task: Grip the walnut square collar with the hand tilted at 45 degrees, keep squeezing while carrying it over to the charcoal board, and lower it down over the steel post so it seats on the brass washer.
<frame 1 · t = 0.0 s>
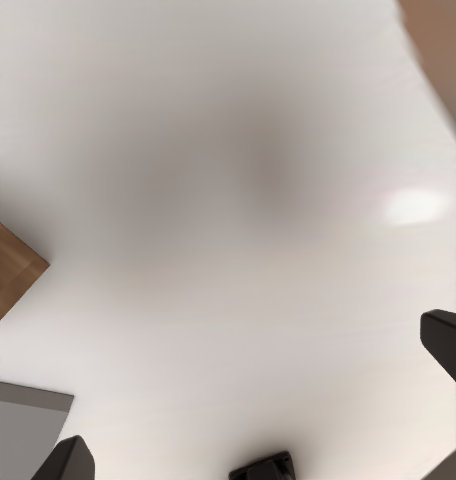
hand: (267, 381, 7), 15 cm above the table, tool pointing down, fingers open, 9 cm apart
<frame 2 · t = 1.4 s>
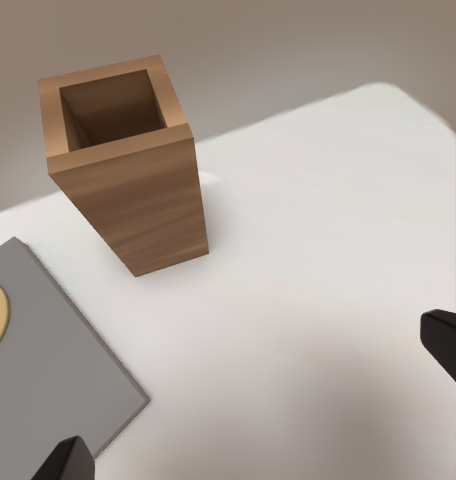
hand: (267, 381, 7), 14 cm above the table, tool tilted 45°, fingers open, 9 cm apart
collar: (163, 233, 25), on the table
post stand: (4, 378, 20), on the table
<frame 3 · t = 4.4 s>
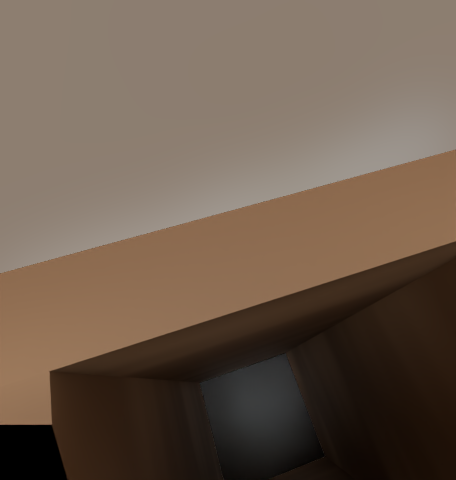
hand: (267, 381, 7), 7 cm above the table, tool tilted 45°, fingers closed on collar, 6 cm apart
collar: (259, 417, 13), on the table, touching gripper
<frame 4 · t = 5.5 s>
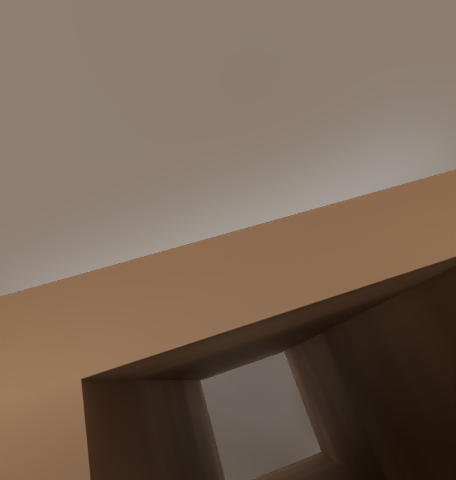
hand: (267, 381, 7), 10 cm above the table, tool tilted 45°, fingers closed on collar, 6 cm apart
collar: (258, 414, 13), point 3 cm above the table, touching gripper
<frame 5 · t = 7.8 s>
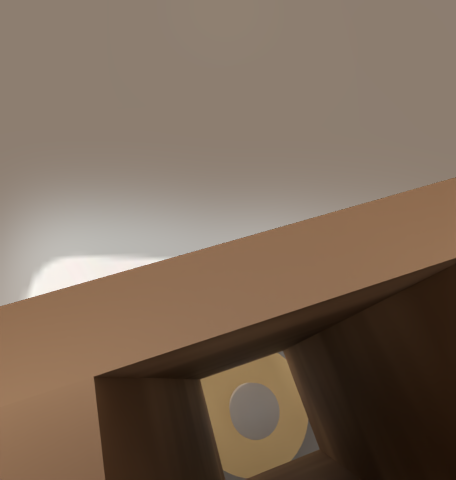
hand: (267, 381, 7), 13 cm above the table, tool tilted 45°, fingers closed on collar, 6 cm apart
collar: (257, 412, 13), point 6 cm above the table, touching gripper
when the fingers open (10 cm above the table, at t = 9.2 s): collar stays where it is, resting on post stand.
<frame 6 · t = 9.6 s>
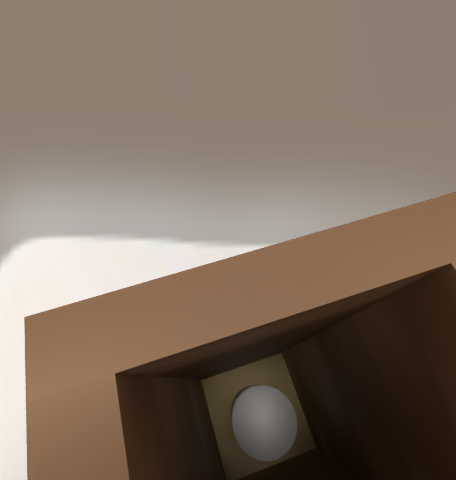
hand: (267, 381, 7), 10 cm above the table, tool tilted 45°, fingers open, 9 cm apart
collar: (256, 412, 14), point 2 cm above the table, touching post stand
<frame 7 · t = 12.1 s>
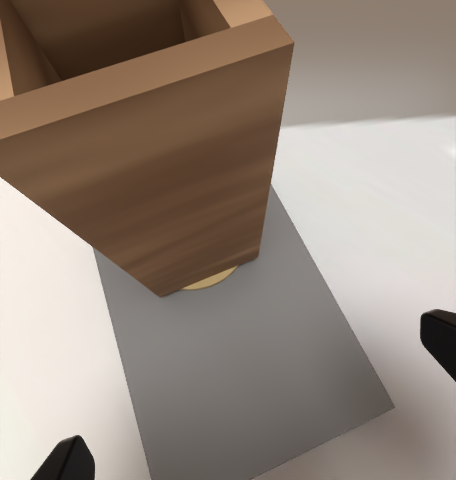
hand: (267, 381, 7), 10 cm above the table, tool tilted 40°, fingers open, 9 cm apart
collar: (192, 232, 18), point 2 cm above the table, touching post stand
post stand: (221, 307, 18), on the table
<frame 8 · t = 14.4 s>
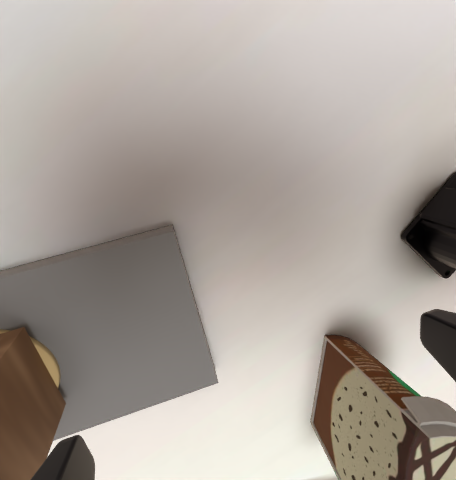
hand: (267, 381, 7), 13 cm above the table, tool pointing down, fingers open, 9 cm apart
food container: (346, 374, 27), on the table
post stand: (80, 339, 20), on the table
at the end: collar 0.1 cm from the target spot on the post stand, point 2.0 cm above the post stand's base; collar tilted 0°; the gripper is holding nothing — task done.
